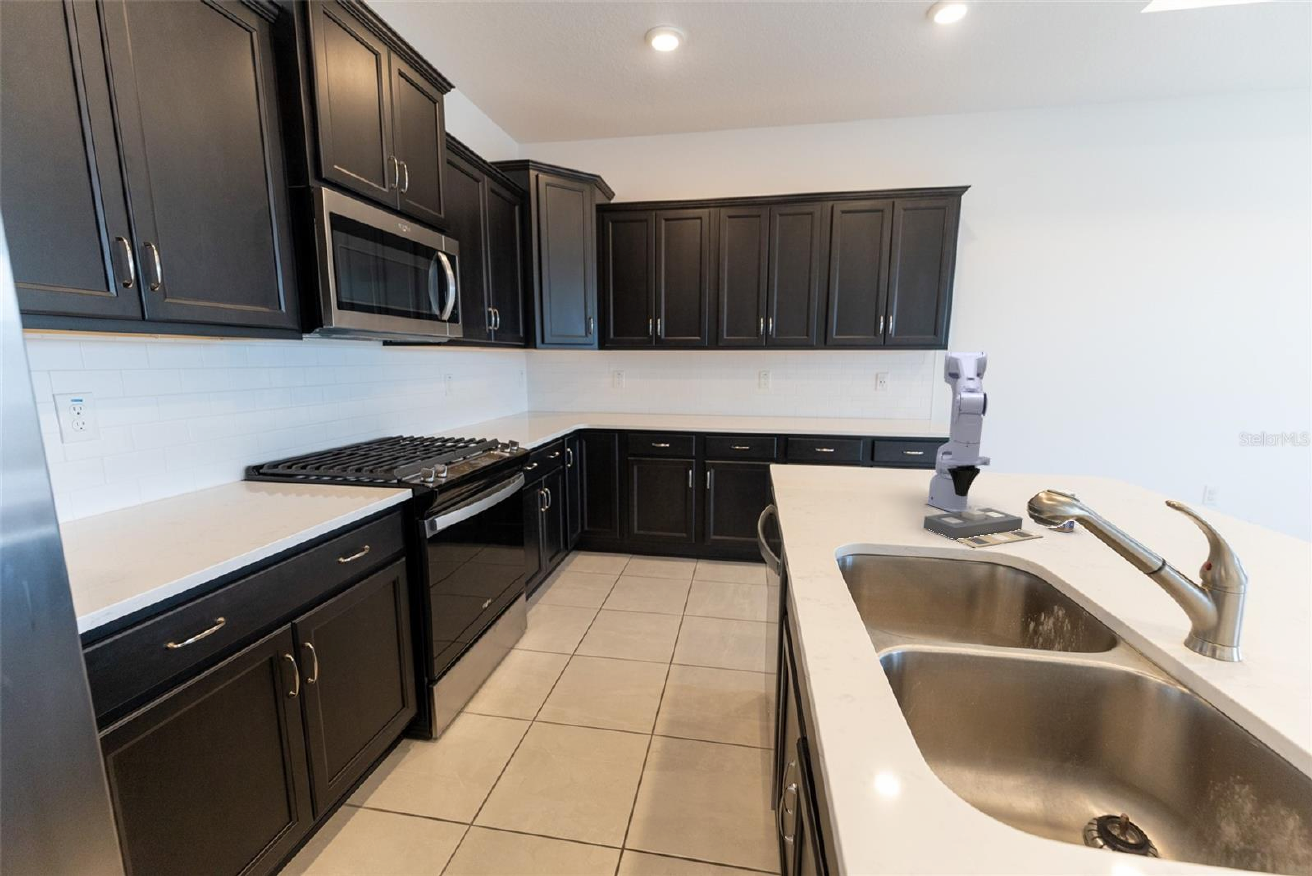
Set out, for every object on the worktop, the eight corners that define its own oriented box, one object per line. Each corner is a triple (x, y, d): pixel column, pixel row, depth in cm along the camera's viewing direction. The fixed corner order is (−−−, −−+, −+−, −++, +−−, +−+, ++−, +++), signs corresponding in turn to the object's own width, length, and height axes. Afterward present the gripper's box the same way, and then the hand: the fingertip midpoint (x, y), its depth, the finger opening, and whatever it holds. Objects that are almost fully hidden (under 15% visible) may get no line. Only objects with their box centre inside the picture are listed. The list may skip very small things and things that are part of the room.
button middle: (961, 521, 132) (962, 510, 132) (971, 520, 133) (973, 508, 133) (973, 526, 129) (975, 514, 128) (984, 524, 130) (986, 513, 129)
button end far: (981, 524, 135) (982, 513, 134) (991, 522, 136) (992, 511, 135) (994, 528, 131) (995, 517, 131) (1004, 527, 132) (1005, 515, 132)
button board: (923, 527, 132) (924, 516, 131) (988, 518, 139) (989, 508, 138) (954, 540, 124) (955, 527, 123) (1021, 529, 131) (1022, 518, 130)
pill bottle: (1064, 525, 134) (1069, 488, 132) (1078, 533, 129) (1084, 494, 127) (1041, 524, 134) (1046, 488, 133) (1055, 532, 129) (1060, 494, 127)
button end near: (939, 530, 130) (940, 518, 130) (950, 528, 131) (951, 517, 131) (951, 535, 127) (952, 523, 126) (962, 533, 128) (963, 521, 127)
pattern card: (956, 540, 123) (956, 539, 123) (1023, 530, 130) (1023, 529, 130) (974, 548, 118) (974, 546, 118) (1043, 537, 126) (1043, 535, 126)
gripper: (957, 446, 121) (951, 502, 124) (1003, 442, 126) (997, 497, 128) (933, 441, 128) (927, 494, 131) (977, 437, 133) (972, 489, 135)
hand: (960, 495), depth 130 cm, fingers closed
